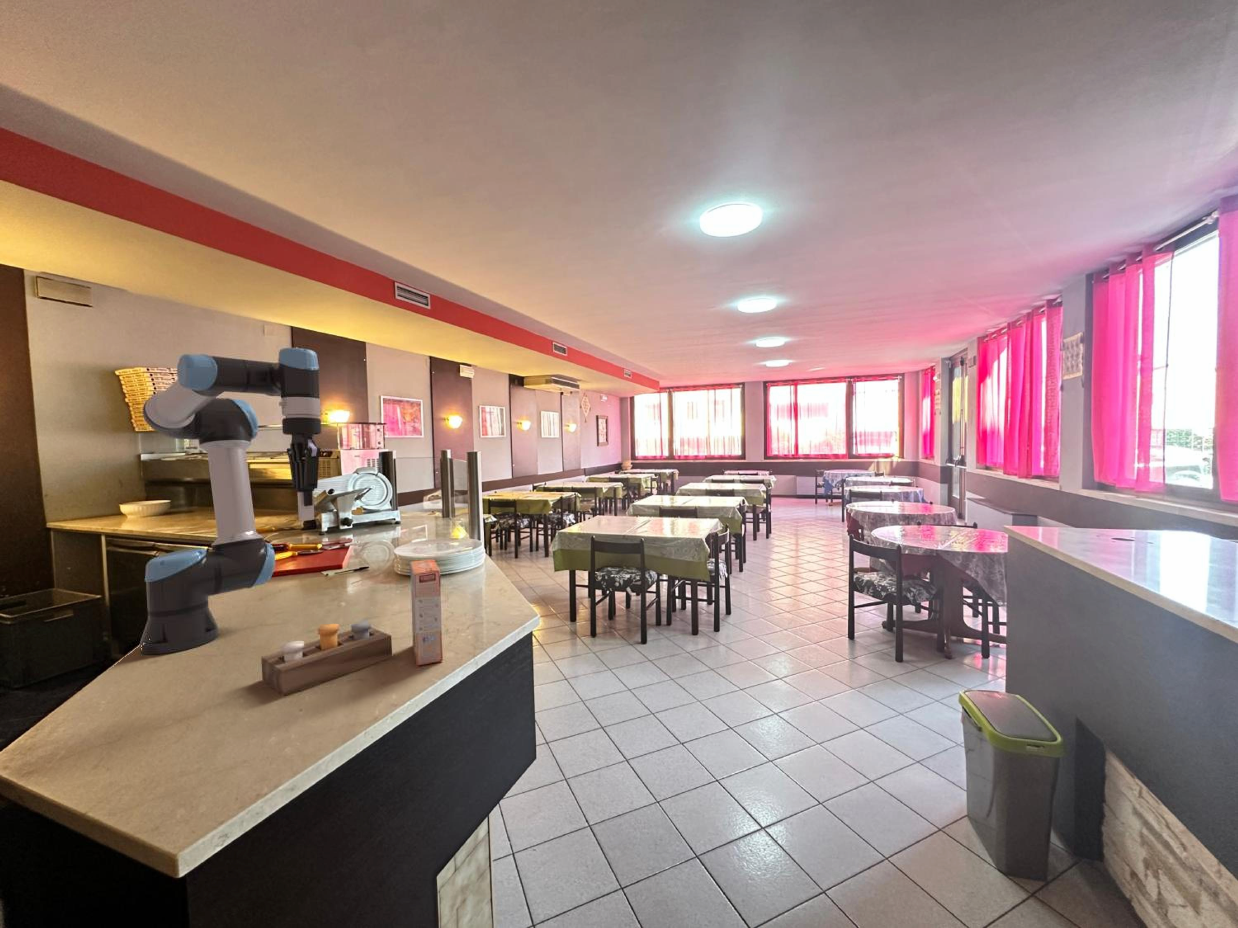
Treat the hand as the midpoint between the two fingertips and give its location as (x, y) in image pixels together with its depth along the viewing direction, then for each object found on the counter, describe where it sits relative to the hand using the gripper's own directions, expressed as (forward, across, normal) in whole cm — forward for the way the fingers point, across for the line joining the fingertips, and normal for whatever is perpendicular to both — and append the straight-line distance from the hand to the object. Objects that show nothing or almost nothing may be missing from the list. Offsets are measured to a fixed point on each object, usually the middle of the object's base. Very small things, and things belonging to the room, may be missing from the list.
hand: (306, 519), depth 115 cm
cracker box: (+33, +20, +17) cm, 42 cm away
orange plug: (+30, +9, 0) cm, 32 cm away
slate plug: (+32, +9, +7) cm, 34 cm away
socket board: (+32, +9, 0) cm, 34 cm away
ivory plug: (+32, +9, -7) cm, 34 cm away
